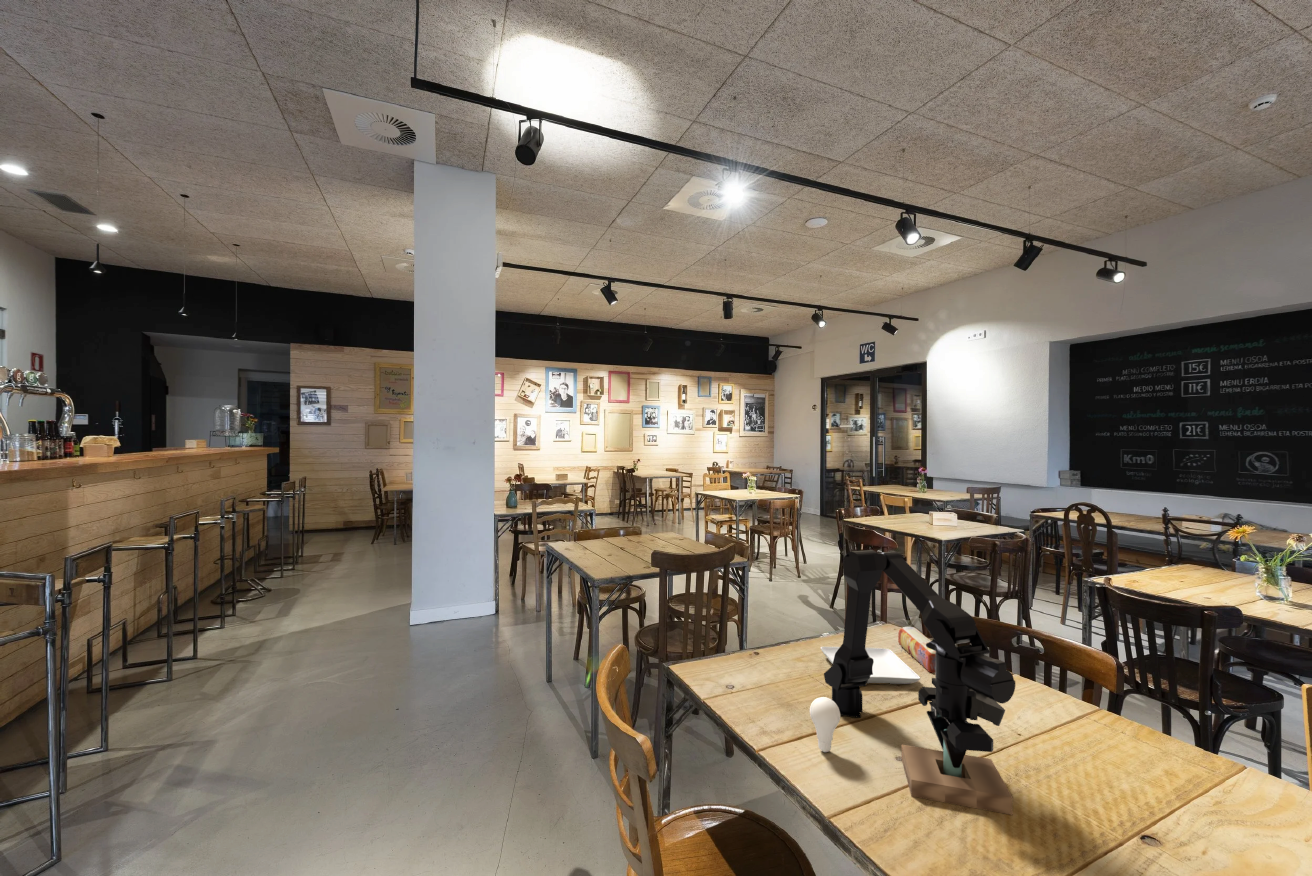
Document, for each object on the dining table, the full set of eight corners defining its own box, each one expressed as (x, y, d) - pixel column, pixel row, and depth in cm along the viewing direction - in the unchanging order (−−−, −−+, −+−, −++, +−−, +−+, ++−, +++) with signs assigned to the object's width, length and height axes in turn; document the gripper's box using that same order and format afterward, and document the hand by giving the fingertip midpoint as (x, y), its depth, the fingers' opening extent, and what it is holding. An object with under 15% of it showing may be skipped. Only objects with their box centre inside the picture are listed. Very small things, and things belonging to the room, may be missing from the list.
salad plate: (922, 690, 140) (922, 677, 140) (842, 688, 141) (842, 675, 141) (888, 658, 162) (888, 647, 162) (818, 657, 162) (819, 646, 162)
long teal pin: (945, 778, 99) (945, 735, 99) (941, 769, 102) (941, 727, 102) (963, 781, 98) (963, 738, 98) (959, 772, 101) (959, 730, 101)
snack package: (951, 675, 150) (951, 651, 150) (926, 674, 150) (926, 650, 150) (917, 646, 171) (917, 625, 171) (896, 646, 171) (896, 625, 171)
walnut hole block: (911, 796, 97) (911, 779, 97) (901, 759, 108) (901, 744, 108) (1012, 814, 92) (1012, 797, 92) (991, 774, 103) (991, 758, 104)
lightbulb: (840, 746, 113) (840, 694, 113) (840, 762, 107) (840, 707, 107) (810, 741, 115) (810, 689, 115) (808, 756, 109) (808, 702, 109)
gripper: (1026, 705, 90) (1026, 798, 90) (974, 661, 109) (974, 738, 108) (956, 701, 92) (956, 792, 91) (917, 658, 110) (917, 734, 110)
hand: (952, 762), depth 100 cm, fingers closed on long teal pin, 3 cm apart
